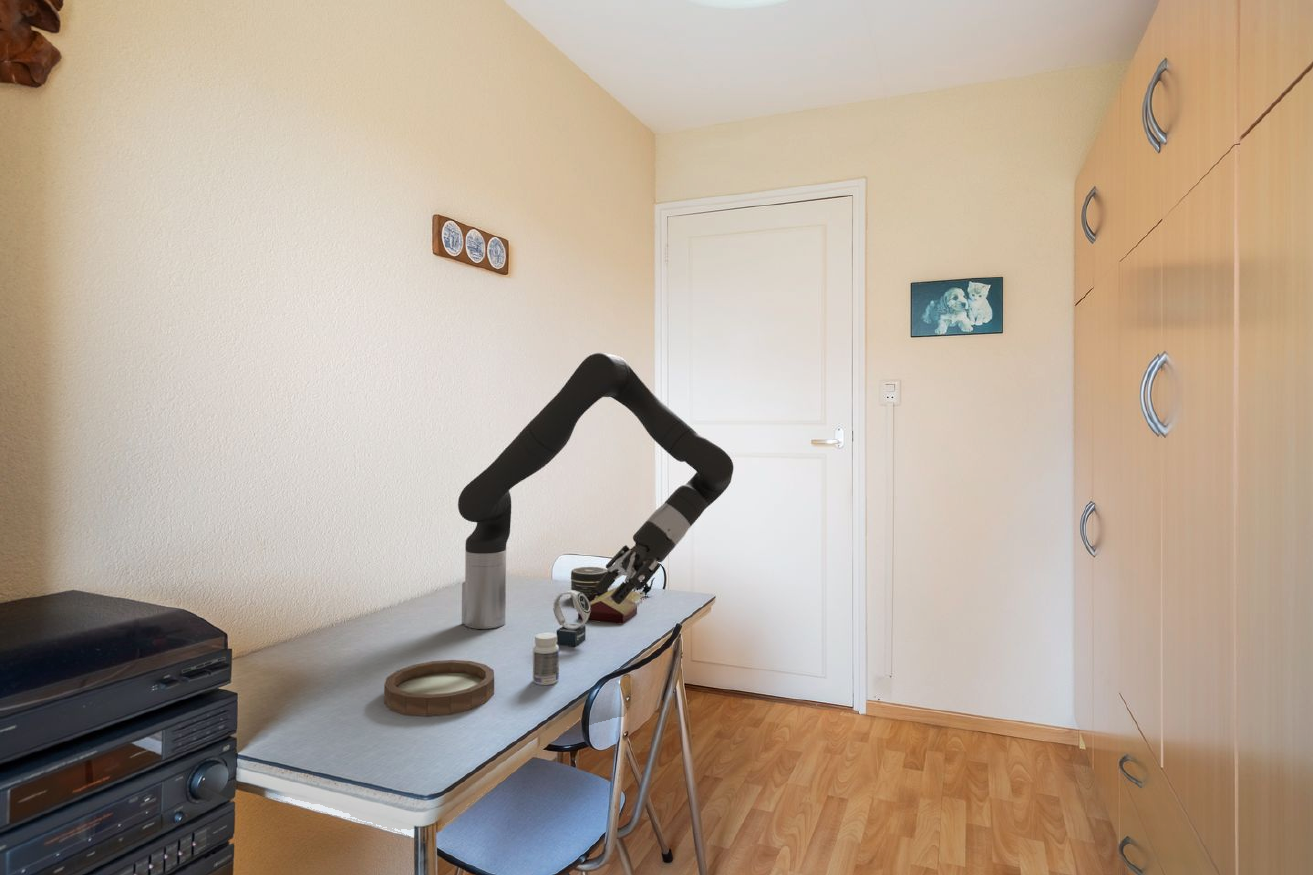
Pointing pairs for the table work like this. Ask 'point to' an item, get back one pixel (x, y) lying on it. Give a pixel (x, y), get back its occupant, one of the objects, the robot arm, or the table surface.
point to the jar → (587, 580)
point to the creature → (646, 587)
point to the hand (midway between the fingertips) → (606, 595)
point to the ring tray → (439, 687)
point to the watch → (572, 632)
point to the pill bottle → (545, 659)
